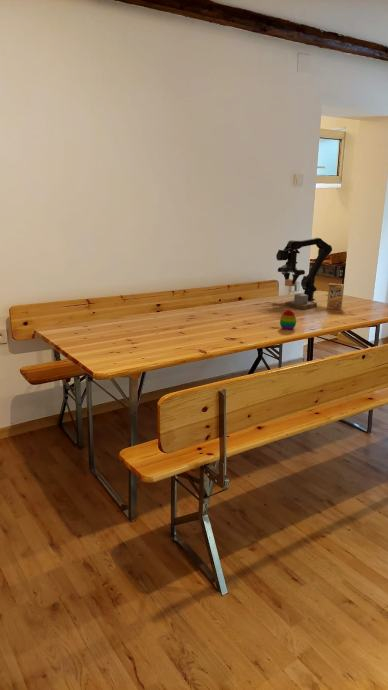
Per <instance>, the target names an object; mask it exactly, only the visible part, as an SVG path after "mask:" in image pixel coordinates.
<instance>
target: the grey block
mask: <svg viewBox="0 0 388 690" xmlns="http://www.w3.org/2000/svg"><path fill="white" fill-rule="evenodd" d="M293 301H294V303H299V304H305V303H308V302H309V301H308V295H305V294H304V293H297V294H294V300H293Z"/></svg>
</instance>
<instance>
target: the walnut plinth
mask: <svg viewBox="0 0 388 690" xmlns="http://www.w3.org/2000/svg"><path fill="white" fill-rule="evenodd" d="M317 304H318V303H317V302H314V301H313V302H312V301H308V303H305V304H299V303H294V300H289V301H285V302H284V307H287V308H293V309H297V310H301V311H304V310H311V309H313V308H314V309H315V308H317V306H318V305H317Z"/></svg>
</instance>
